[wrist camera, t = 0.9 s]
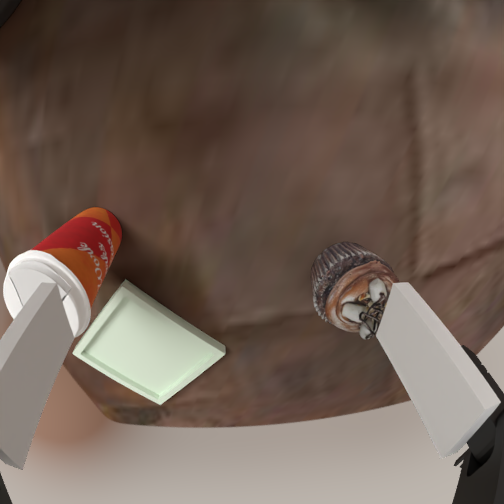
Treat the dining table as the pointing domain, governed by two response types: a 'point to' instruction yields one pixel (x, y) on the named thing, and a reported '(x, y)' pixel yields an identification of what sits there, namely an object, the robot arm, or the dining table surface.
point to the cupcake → (351, 288)
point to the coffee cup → (67, 265)
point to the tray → (146, 345)
